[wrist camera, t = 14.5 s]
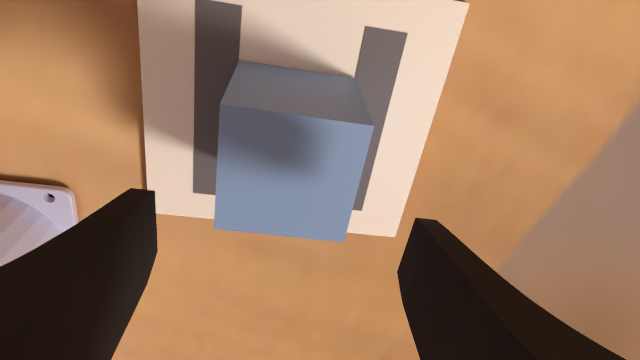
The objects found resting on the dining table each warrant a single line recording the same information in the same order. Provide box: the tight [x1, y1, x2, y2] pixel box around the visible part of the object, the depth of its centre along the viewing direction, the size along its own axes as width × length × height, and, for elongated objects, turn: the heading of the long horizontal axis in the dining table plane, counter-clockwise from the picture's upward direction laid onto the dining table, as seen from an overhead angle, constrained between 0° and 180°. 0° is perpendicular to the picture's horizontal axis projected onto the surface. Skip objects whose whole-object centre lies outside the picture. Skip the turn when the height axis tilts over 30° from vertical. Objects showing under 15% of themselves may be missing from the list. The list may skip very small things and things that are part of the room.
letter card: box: [137, 0, 470, 237], centre depth 19 cm, size 13×12×1 cm
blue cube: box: [214, 60, 374, 242], centre depth 17 cm, size 5×5×5 cm
